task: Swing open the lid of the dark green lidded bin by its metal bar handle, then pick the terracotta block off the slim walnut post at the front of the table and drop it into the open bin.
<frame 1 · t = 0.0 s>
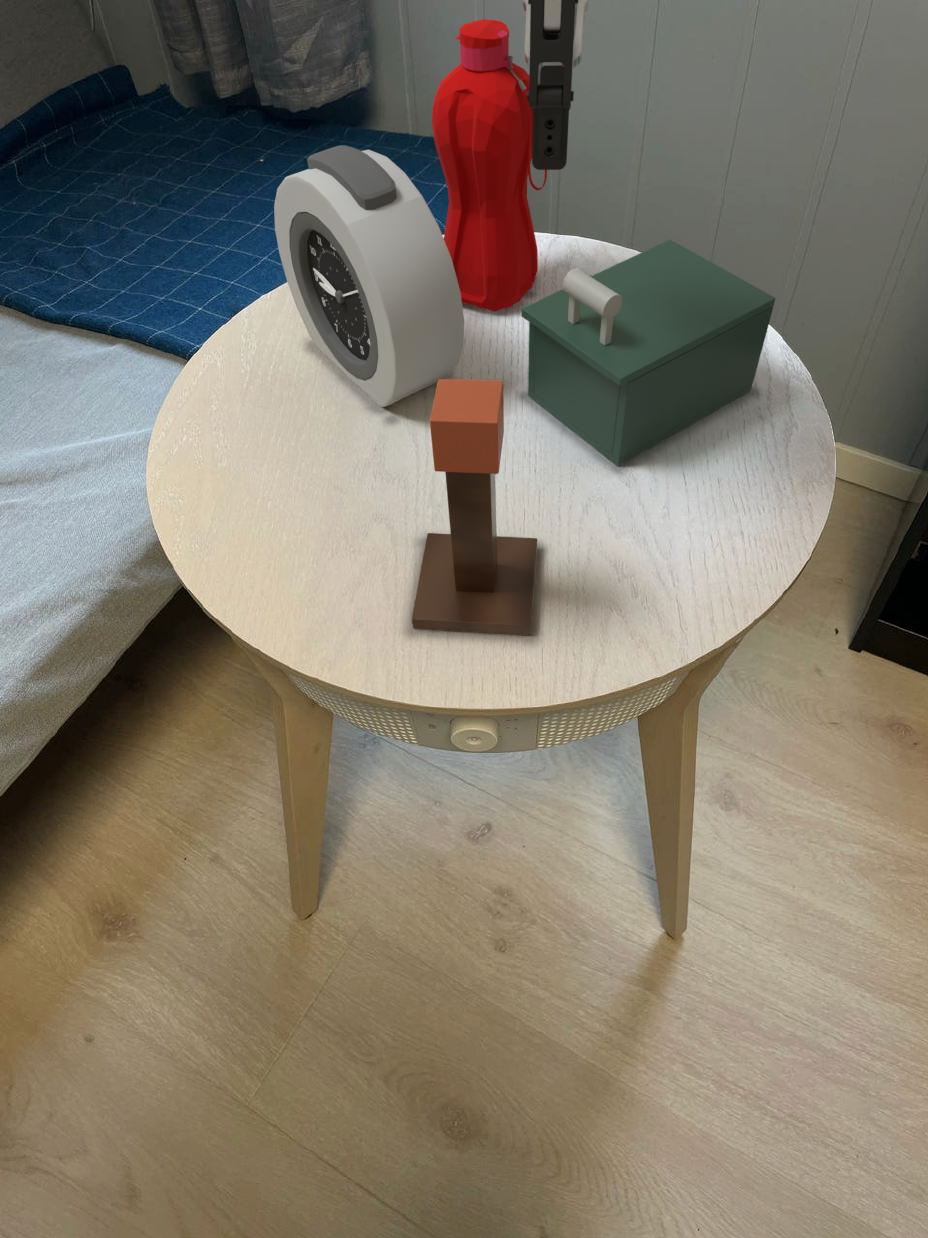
hand: (552, 137, 58), 26 cm above the table, tool pointing down, fingers open, 8 cm apart
stand: (477, 586, 67), on the table
bin lid: (650, 282, 72), point 12 cm above the table, hinge at 0.0°
bin: (638, 393, 81), on the table
block: (469, 451, 56), point 14 cm above the table, touching stand
water bottle: (497, 293, 93), on the table
alarm clock: (378, 362, 86), on the table
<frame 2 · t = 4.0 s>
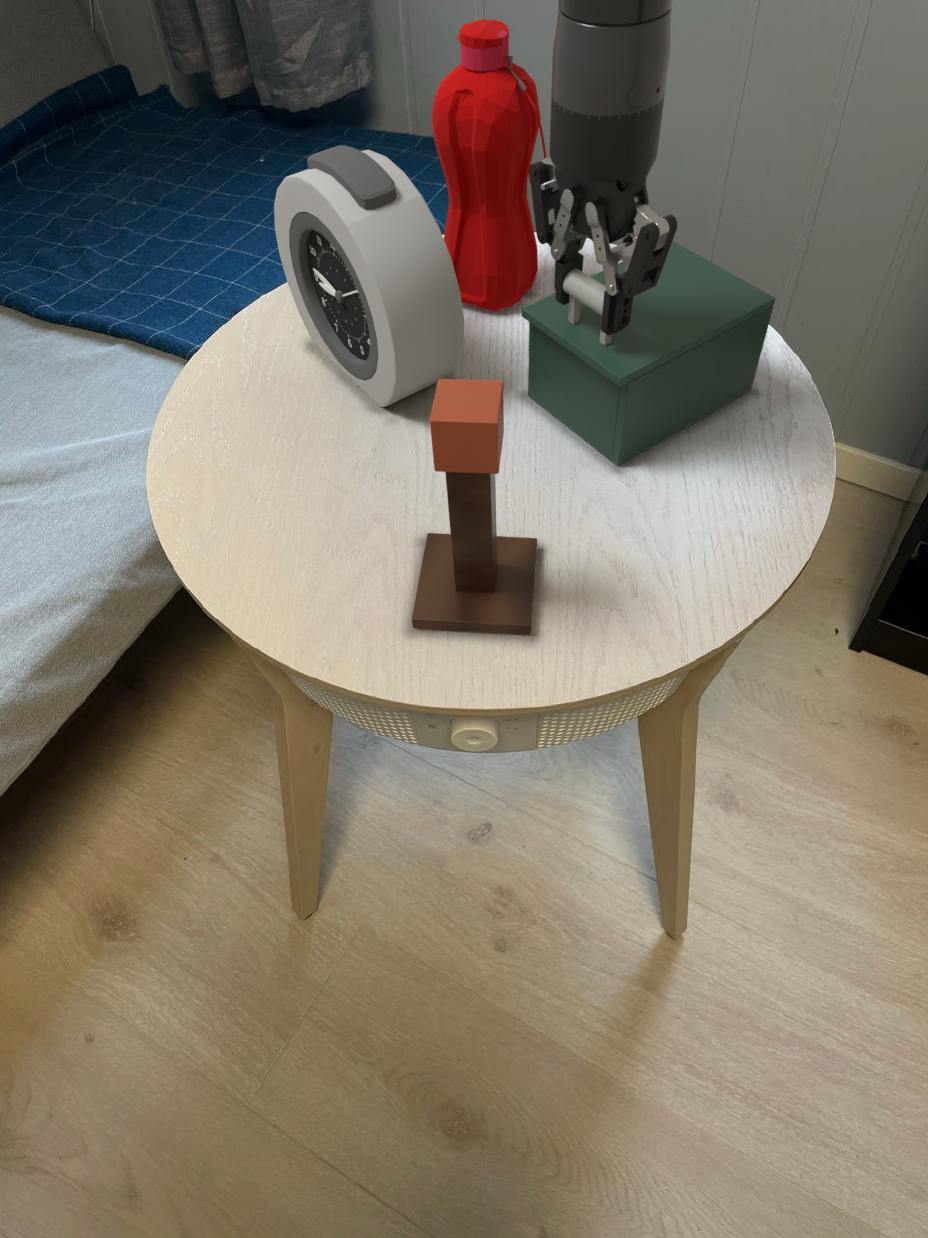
hand: (590, 313, 70), 11 cm above the table, tool pointing down, fingers closed on bin lid, 5 cm apart
bin lid: (650, 282, 72), point 12 cm above the table, hinge at 0.0°, touching gripper
everything else where it was.
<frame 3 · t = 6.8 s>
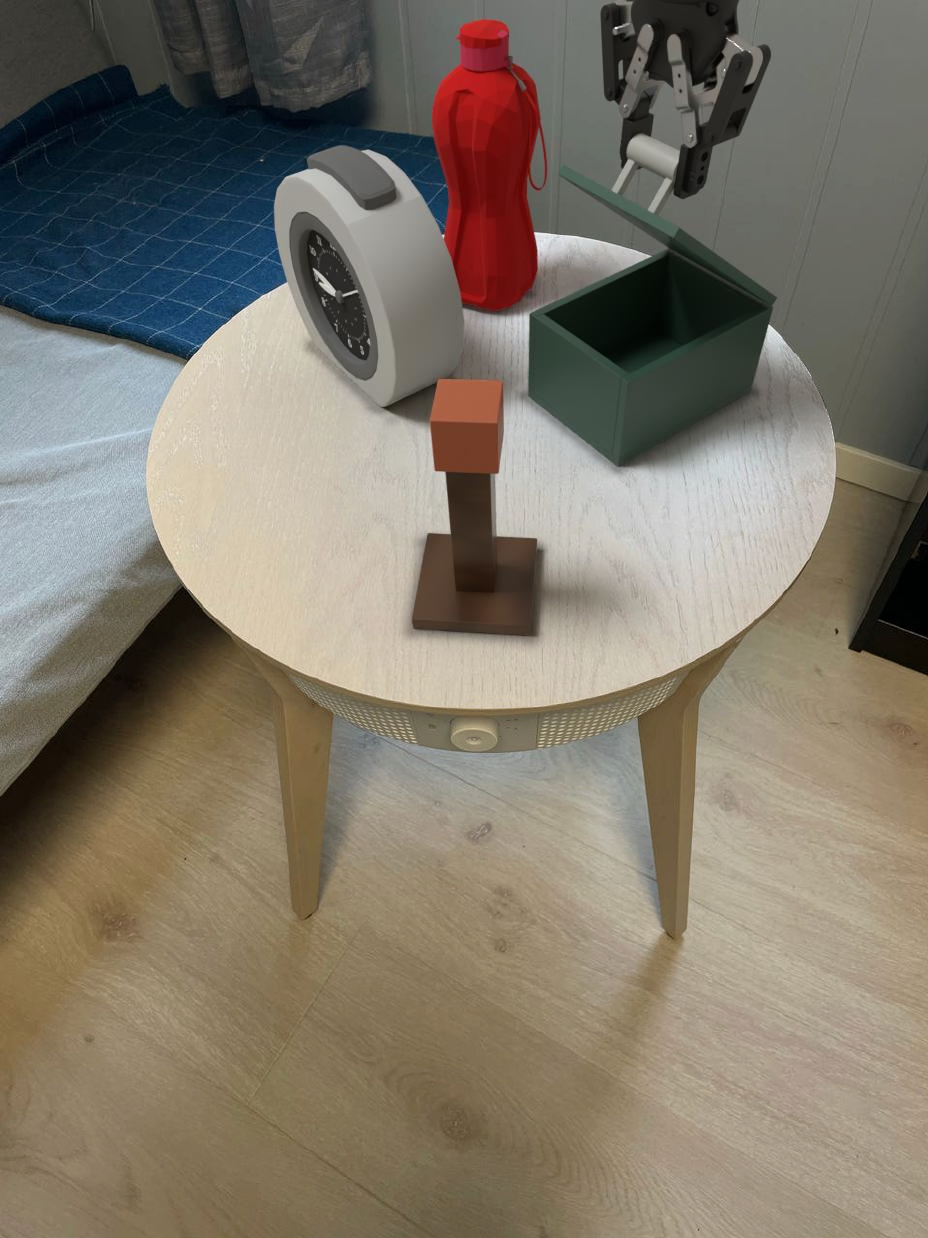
hand: (659, 179, 65), 20 cm above the table, tool pointing down, fingers closed on bin lid, 5 cm apart
bin lid: (688, 211, 69), point 17 cm above the table, hinge at 38.3°, touching gripper
everything else where it was.
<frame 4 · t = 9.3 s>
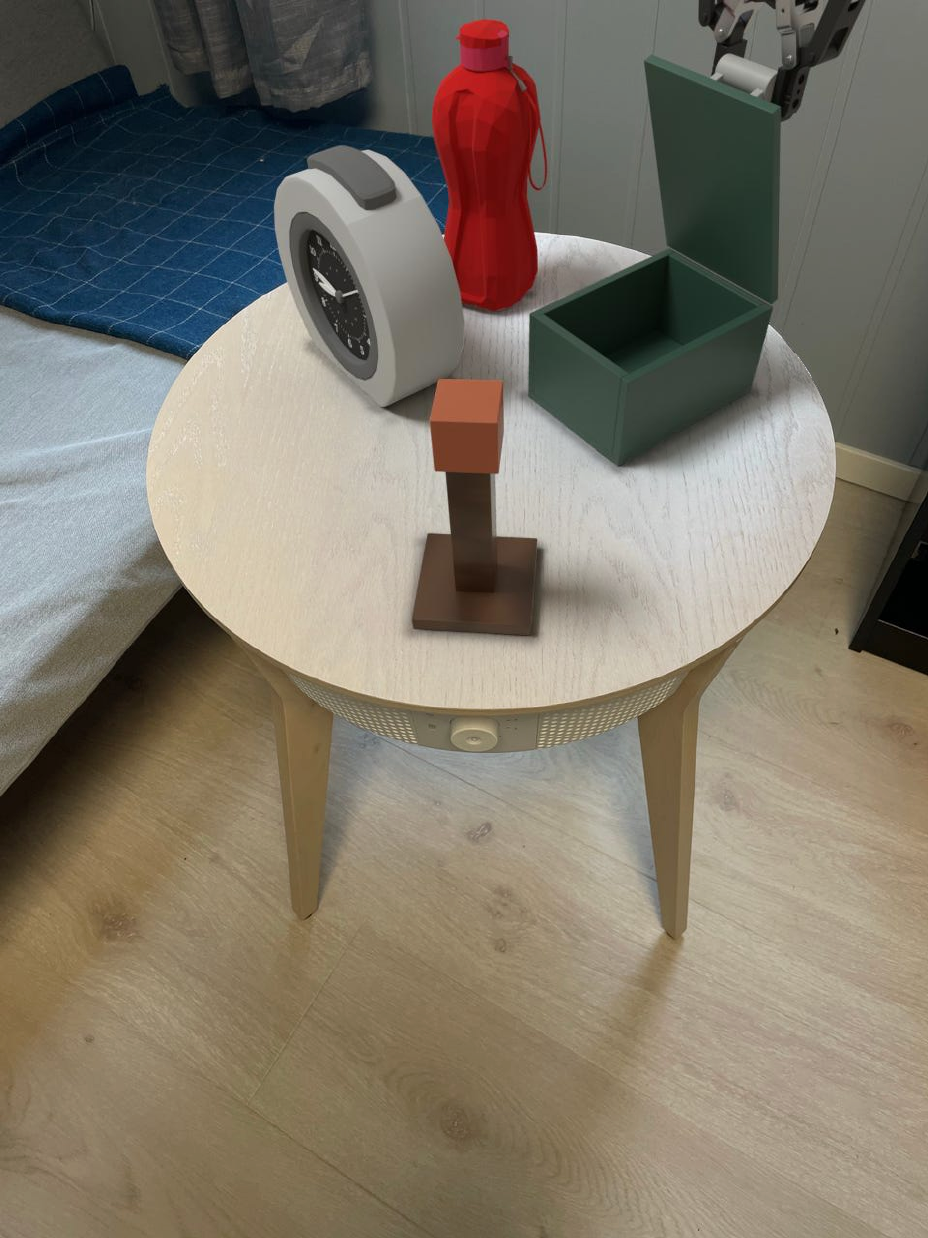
hand: (750, 106, 66), 23 cm above the table, tool pointing down, fingers closed on bin lid, 5 cm apart
bin lid: (735, 169, 69), point 18 cm above the table, hinge at 71.3°, touching gripper
everything else where it was.
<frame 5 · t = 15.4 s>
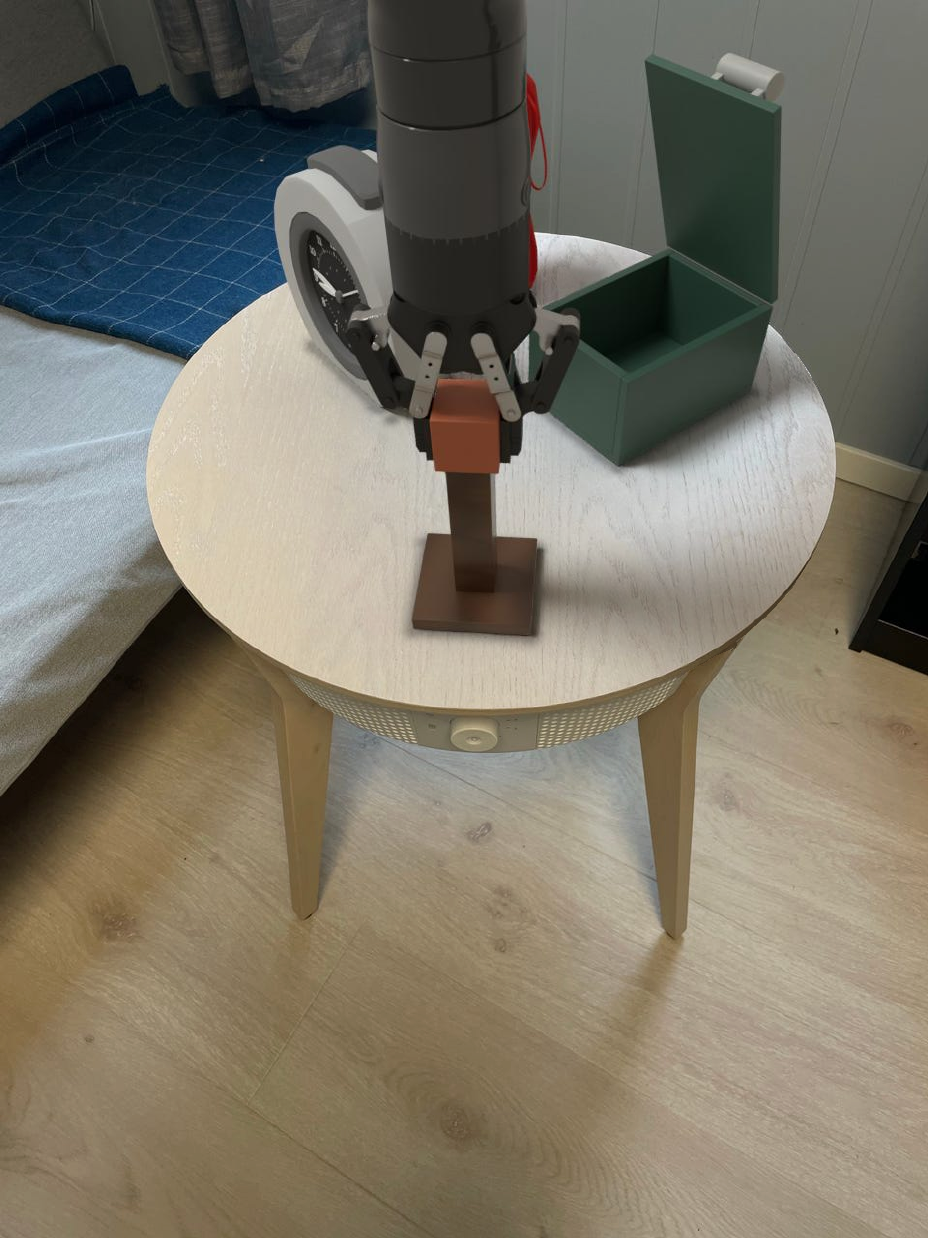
hand: (469, 452, 57), 14 cm above the table, tool pointing down, fingers closed on block, 4 cm apart
bin lid: (735, 169, 69), point 18 cm above the table, hinge at 71.6°
block: (469, 451, 56), point 14 cm above the table, touching gripper, stand
everything else where it was.
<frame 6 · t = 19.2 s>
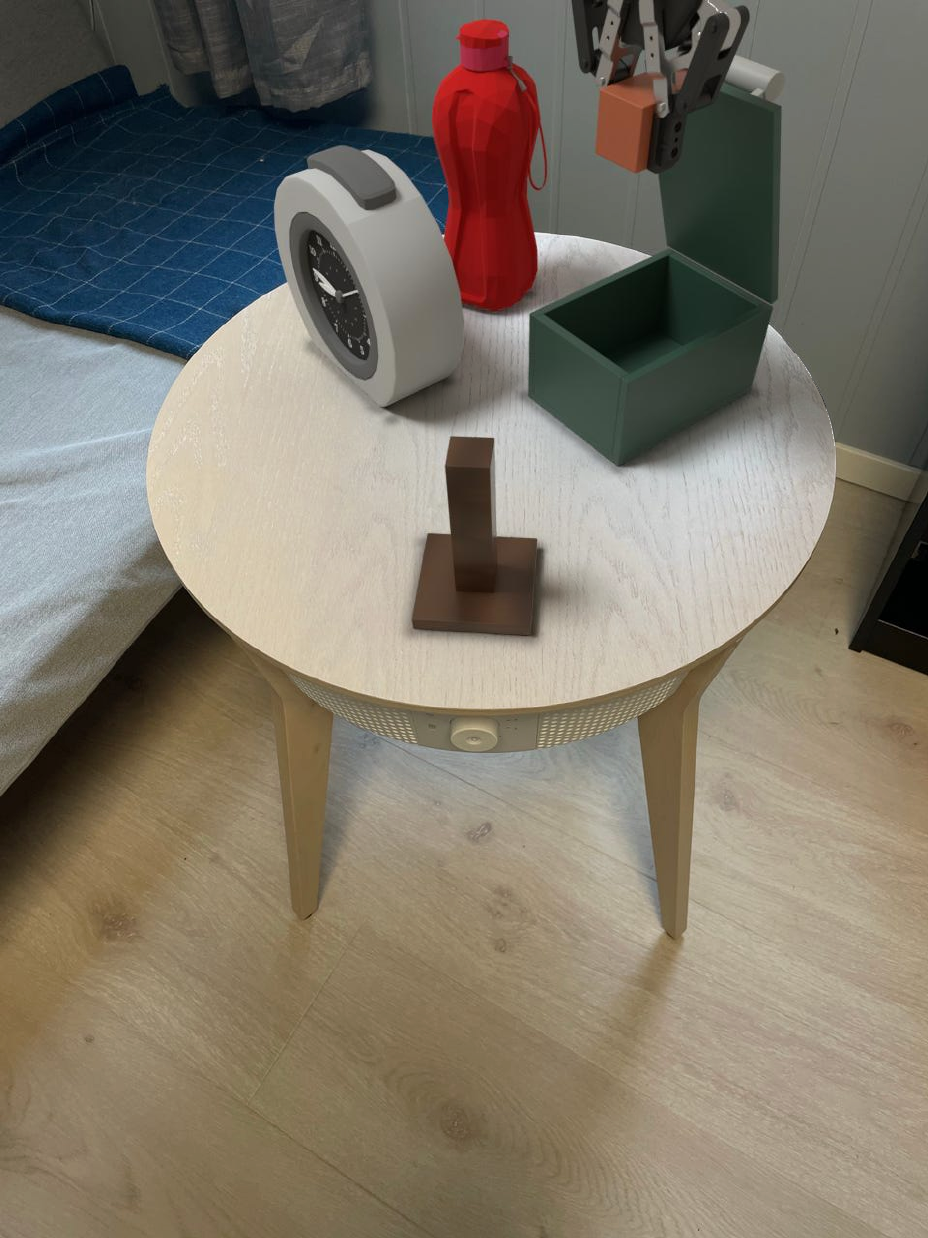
hand: (636, 155, 60), 24 cm above the table, tool pointing down, fingers closed on block, 4 cm apart
block: (636, 154, 60), point 24 cm above the table, touching gripper
everything else where it was.
when the fingers open (9 cm above the table, at t = 23.3 s): block drops 8 cm, resting on bin.
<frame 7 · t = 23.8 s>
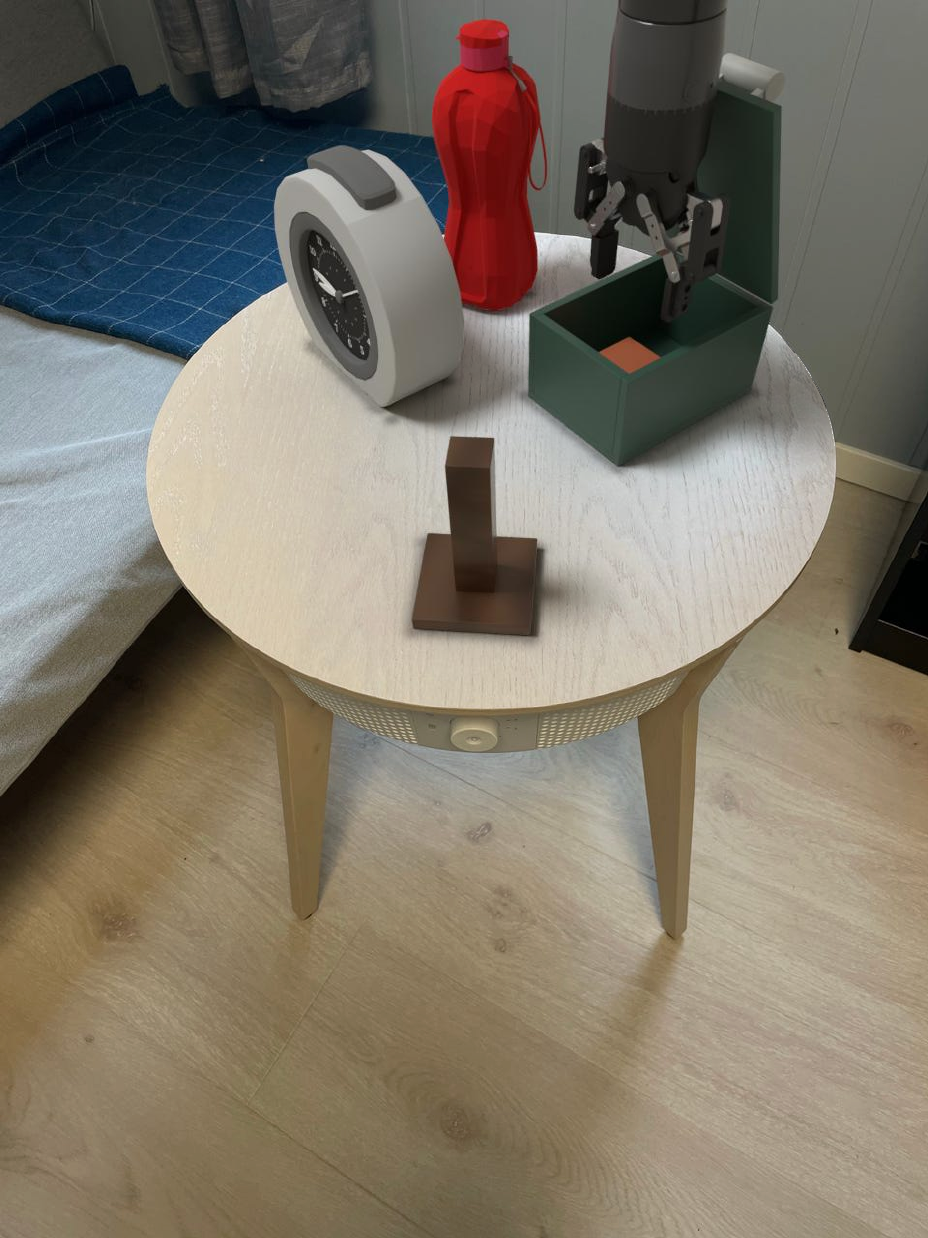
hand: (636, 295, 72), 11 cm above the table, tool pointing down, fingers open, 8 cm apart
block: (623, 393, 80), point 1 cm above the table, touching bin
everything else where it was.
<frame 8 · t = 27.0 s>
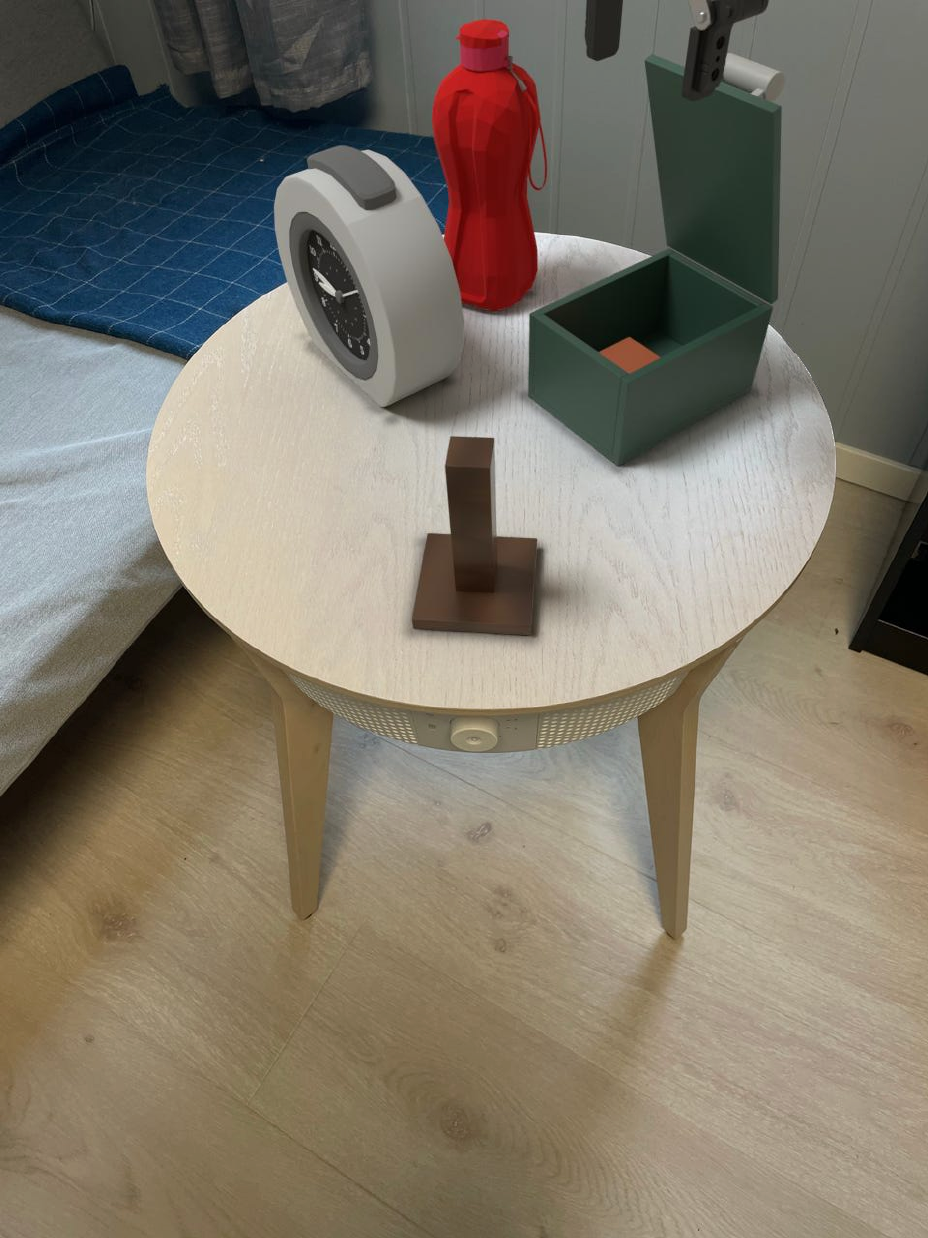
hand: (647, 75, 53), 30 cm above the table, tool pointing down, fingers open, 8 cm apart
nothing on the table moved.
at the end: bin lid at +72° (first picture: +0°); block inside the target area in the bin (2.0 cm from its centre), point 0.9 cm above the bin's base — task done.
